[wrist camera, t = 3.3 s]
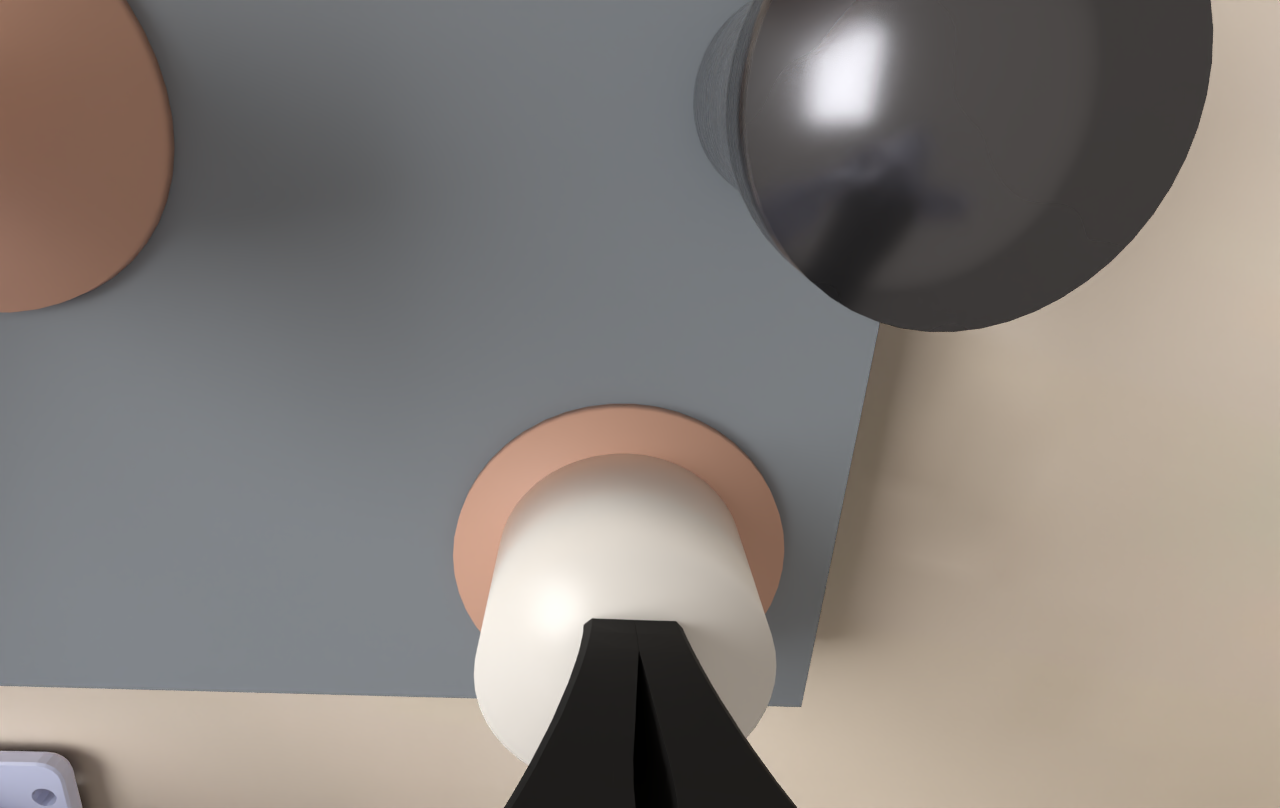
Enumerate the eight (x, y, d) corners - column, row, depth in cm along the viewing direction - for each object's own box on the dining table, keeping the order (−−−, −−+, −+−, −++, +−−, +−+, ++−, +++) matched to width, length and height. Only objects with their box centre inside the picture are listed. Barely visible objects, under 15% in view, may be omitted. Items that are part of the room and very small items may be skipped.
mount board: (779, 642, 18) (804, 717, 16) (-55, 614, 16) (-154, 693, 14) (907, -54, 13) (971, -84, 10) (-297, -185, 11) (-507, -250, 9)
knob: (725, 662, 15) (754, 792, 12) (496, 656, 15) (473, 788, 12) (756, 459, 13) (798, 556, 11) (500, 446, 13) (474, 542, 10)
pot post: (886, 231, 12) (1124, 344, 7) (661, 213, 12) (719, 317, 6) (936, -23, 11) (1288, -145, 5) (686, -50, 11) (786, -206, 5)
